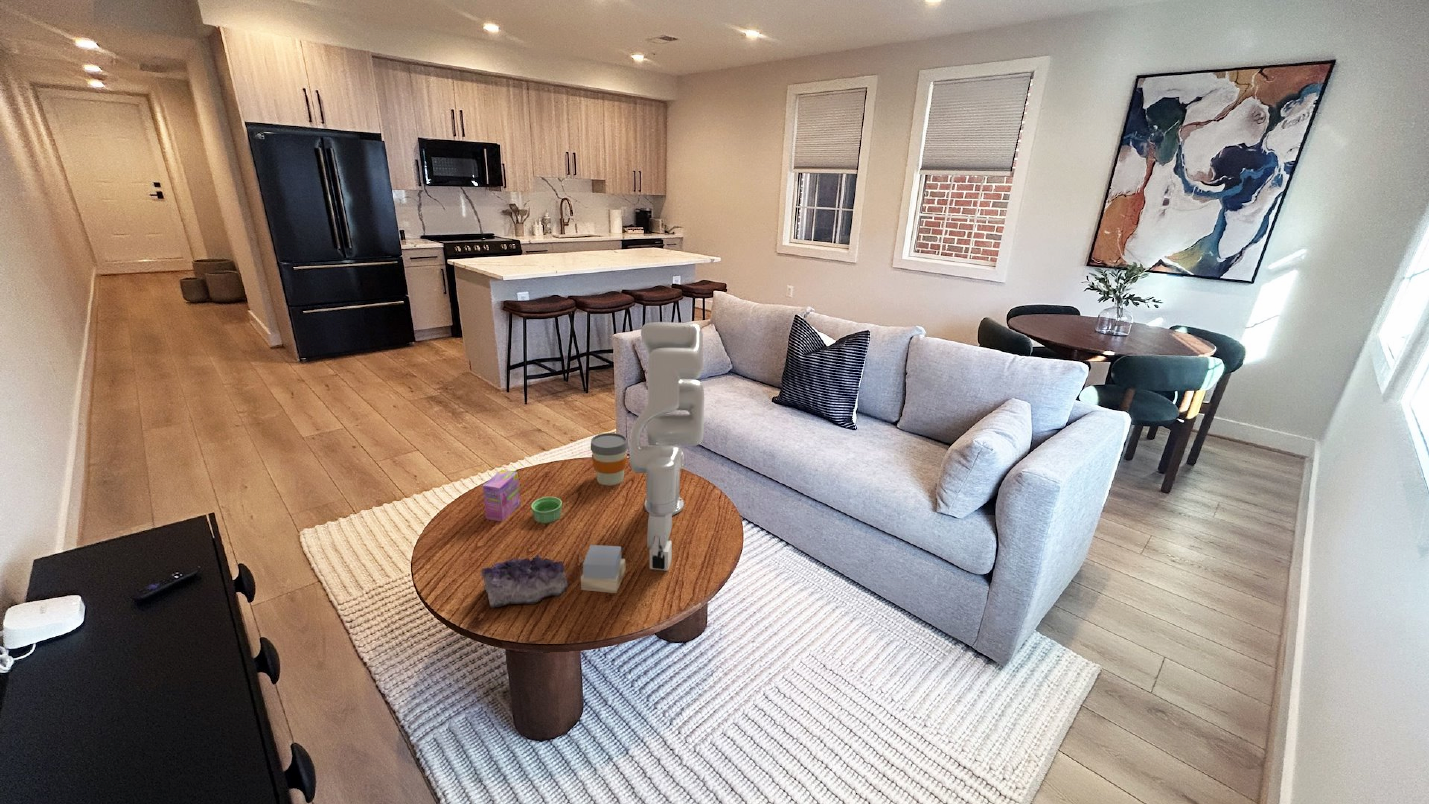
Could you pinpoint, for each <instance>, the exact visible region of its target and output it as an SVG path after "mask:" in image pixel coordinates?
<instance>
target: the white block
mask: <svg viewBox="0 0 1429 804" xmlns="http://www.w3.org/2000/svg"><path fill="white" fill-rule="evenodd" d="M672 543H673V540H669V541H668V542H667V545H666V547H665V548H664V555H663V556H665V568H664V569H655V568H653V567H652V555H653V545H652V547H651V548H649V569H650V570H659V571H667V572H668V571H669V568H670V565H671V563H672V549H673V548H672V547H673V544H672ZM659 545H661V544H659ZM659 552H661V549H659Z"/></svg>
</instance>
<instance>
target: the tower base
mask: <svg viewBox="0 0 1429 804" xmlns="http://www.w3.org/2000/svg"><path fill="white" fill-rule="evenodd" d="M625 573H626V559H625V558H621V563H620V566H619V569H618V572H617V576H616V579H604V578H585V577H584V575H583V573H582V574H581V576H580V588H581V589H580V590H581V591H590V592H601V593H611V594H617V592H618V590H619V587H620V586H621V582H622V580H623V578H624V575H625Z"/></svg>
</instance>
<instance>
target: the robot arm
mask: <svg viewBox="0 0 1429 804" xmlns="http://www.w3.org/2000/svg"><path fill="white" fill-rule="evenodd" d="M703 335H704V334H703V330H702V327H701V326H700V325H699V324H697V323H695V322H694V323H693V322H670V321H669V322H668V321H656V322H647V323H644V325H643V326H642V327H641V330H640V337H641V342H642V344H643V348H644V350H645V351H646V354H647V356H648V358H647V359H648V361H647V404H646V407H645V409H644V410H643V411H642V412H641V413H640V414H639V416H638V417H637V418H636V420H635V422H633V423H634V424H633V425H632V428H631V430H630V435H629V466H630V469H631V470H632V472H634V473H636V474H645V480H646V481H645V483H646V484H645V485H646V486H645V487H646V491H645V492H646V496H645V497H646V498H645V501H644V509H645V511H647V513H648V520H647V533H646V534H647V535H646V536H647V537H646V538H647V539H646V540H647V541H646V546H647V548H648V549H650V548H651V547H652V545H653V555H652V567H653V568H655V569H654V570H656V569H664V568H665V556H663V555H664V548H665V547H666V545H667V542H668V541H670V539H669V538H670V535H671V532H672V526H673V518H672V517H673V516H674V515H676V514H679V513H680V512H681V511H682V510H683V509H684V506H685V503H684V502H685V501H684V500H683V498H682V497H680V475H681V474H680V471H681V469H682V468H683V466H684V461H685V460H684V459H685V455H684V452H683V450H682V448H681V447H679V446H697V445H700V444H701V443H702V442H703V439H704V431H705V390H704V389H705V388H704V386H703V384H702V382H701V381H700V380H698V379H699V377H701V375H702V371H703V366H704V365H703V363H704V348H703V347H704V344H703V343H704V341H703V340H704V338H703V337H704V336H703ZM674 411H684V412H685V411H686V412H688V413H682V414H681V413H673V412H674ZM644 428H645V433H646V438H647V444H648V445H646V444H641V437H642V432H643V431H644ZM659 544H661V545H659ZM659 549H661V552H659Z"/></svg>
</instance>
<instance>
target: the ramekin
mask: <svg viewBox="0 0 1429 804" xmlns="http://www.w3.org/2000/svg"><path fill="white" fill-rule="evenodd" d="M562 504H563V501H562V500H561V499H560V498H558V497H557V496H556V497H555V496H542V497H539V498H537V499H535V500H534V501H533V502H532V503H531V506H530V507H531V508H530V509H531V511H532V515H533V519H534V520H535V522H538V523H539V524H540V523H541V524H549V523H553V522H556V521H557V520H559V519H560V517H561V516H562V506H563V505H562Z"/></svg>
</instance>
